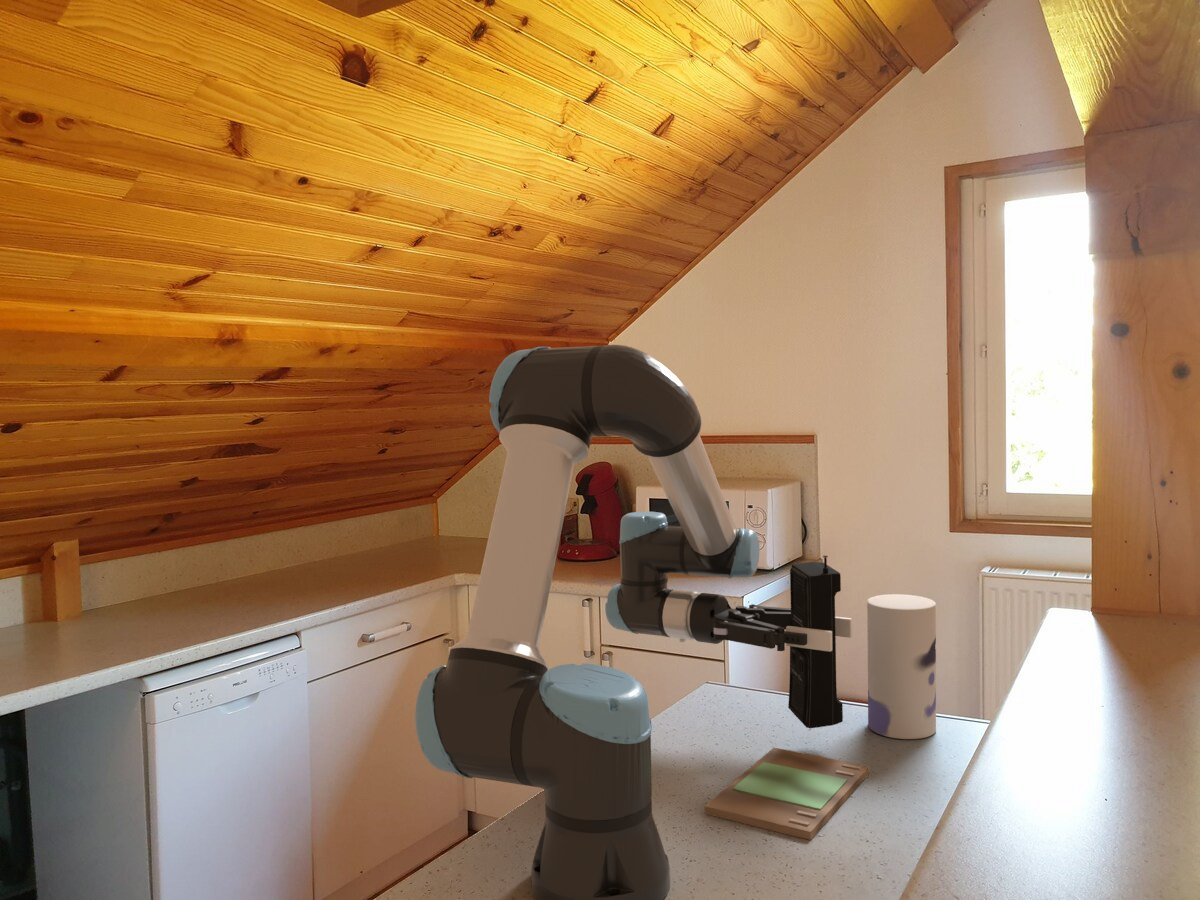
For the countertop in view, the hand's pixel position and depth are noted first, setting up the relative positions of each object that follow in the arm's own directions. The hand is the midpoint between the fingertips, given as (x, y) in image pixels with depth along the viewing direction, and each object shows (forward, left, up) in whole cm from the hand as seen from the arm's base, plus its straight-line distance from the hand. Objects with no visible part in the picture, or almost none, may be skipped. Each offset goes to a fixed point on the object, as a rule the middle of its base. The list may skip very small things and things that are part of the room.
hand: (841, 634), depth 138 cm
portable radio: (+1, +5, -13) cm, 14 cm away
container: (+15, -4, -18) cm, 24 cm away
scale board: (-15, +2, -18) cm, 23 cm away
